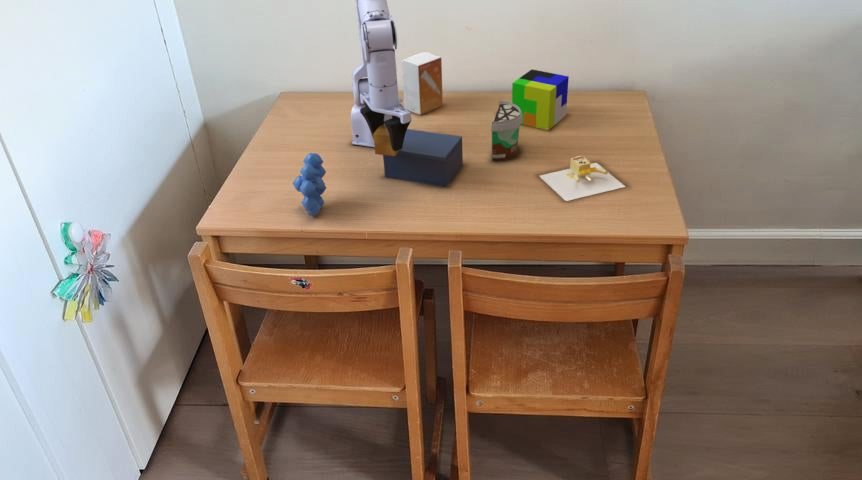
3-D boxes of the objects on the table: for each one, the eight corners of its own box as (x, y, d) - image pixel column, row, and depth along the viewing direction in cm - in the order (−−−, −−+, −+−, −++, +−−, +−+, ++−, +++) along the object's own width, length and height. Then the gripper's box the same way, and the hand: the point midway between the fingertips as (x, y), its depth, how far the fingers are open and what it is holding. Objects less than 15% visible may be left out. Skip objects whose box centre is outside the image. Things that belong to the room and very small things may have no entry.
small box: (420, 115, 193) (418, 65, 185) (404, 108, 197) (400, 59, 189) (443, 105, 197) (442, 56, 190) (427, 99, 201) (424, 50, 193)
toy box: (447, 187, 163) (446, 160, 160) (384, 177, 168) (382, 151, 164) (462, 165, 171) (462, 140, 167) (403, 156, 175) (401, 131, 172)
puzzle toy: (566, 115, 191) (568, 76, 185) (548, 130, 184) (550, 90, 178) (530, 107, 195) (531, 69, 189) (511, 121, 188) (512, 83, 182)
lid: (444, 160, 159) (444, 157, 158) (380, 151, 163) (380, 148, 163) (462, 139, 167) (462, 136, 167) (401, 131, 172) (401, 127, 171)
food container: (518, 165, 170) (519, 124, 164) (491, 164, 171) (491, 122, 165) (524, 141, 180) (526, 101, 174) (499, 139, 181) (499, 99, 175)
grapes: (303, 194, 163) (295, 143, 156) (334, 195, 162) (327, 143, 155) (289, 223, 154) (279, 170, 146) (322, 224, 153) (314, 171, 146)
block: (375, 154, 159) (373, 134, 156) (381, 144, 163) (380, 124, 160) (395, 156, 158) (393, 135, 155) (401, 146, 162) (400, 126, 159)
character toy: (579, 174, 158) (560, 158, 164) (578, 188, 160) (560, 172, 166) (612, 166, 160) (593, 151, 166) (611, 180, 162) (592, 164, 168)
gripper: (421, 86, 149) (424, 149, 157) (377, 66, 158) (382, 127, 166) (392, 96, 145) (397, 160, 153) (349, 76, 154) (356, 137, 162)
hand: (388, 144), depth 159 cm, fingers closed on block, 6 cm apart
